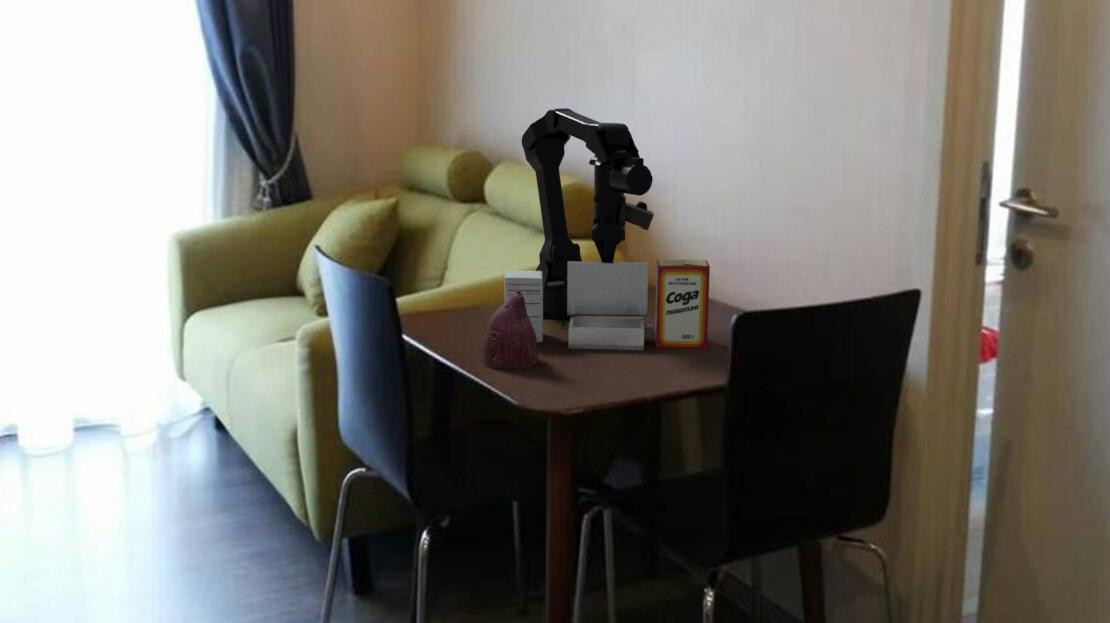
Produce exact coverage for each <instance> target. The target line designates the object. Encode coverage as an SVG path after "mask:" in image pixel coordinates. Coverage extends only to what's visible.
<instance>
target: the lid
mask: <svg viewBox="0 0 1110 623" xmlns="http://www.w3.org/2000/svg"><path fill="white" fill-rule="evenodd" d="M648 293H649V262H638V261H637V262H635V261H634V262H633V261H632V262H629V261H628V262H627V261H625V262H624V261H623V262H622V261H617V262H616V261H613V262H602V261H582V262H573V261H568V272H567V315H571V316H587V317H643V318H645V317H648V299H649V298H648V296H649V294H648Z"/></svg>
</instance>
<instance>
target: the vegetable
mask: <svg viewBox="0 0 1110 623" xmlns="http://www.w3.org/2000/svg"><path fill="white" fill-rule="evenodd" d="M538 348H539V347H538V342H537V339H536V334H535V331H534V328H533V326H532V324H531V321H530V319H529V317H528V314H527V311H526V306H525V299H524V296H523V295H522V293H521V291H520V290H518V291H517V292H516V293H514V294H513V295H512V296H511V297H510V298H509V299H508V300H507V301H506V302H505V301H504V303H503V304H502V305H501V306H499V307H498V309H497V310H496V311H494V313H493V315H492V316H491V319H490V321H489V322H488V325H487V330H486V332H485V335H484V338H483V346H482V359H481V362H482V363H483V365H484V366H486V367H488V368H492V369H496V368H497V369H498V368H499V369H500V370H503V369H505V370H509V369H525V367H527V368H530V367H533V366H534V365H536V364H538V362H539V349H538Z"/></svg>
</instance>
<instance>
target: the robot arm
mask: <svg viewBox="0 0 1110 623" xmlns="http://www.w3.org/2000/svg"><path fill="white" fill-rule="evenodd" d="M571 137H573V138H575V139H578V140H580V141H582V142H584V143H585V148H586V149H588V150H589V152H591V153H592V154H594V156H593V157H592V158H590V160H589V161H588V164H589V165H590V166H594V172H593V173H594V182H593V183H594V185H593V186H594V187H593V188H594V189H593V204H594V205H593V213H594V214H593V226H592V228H591V241H594V245H595V248H596V250H597V253H598V255H599V258H600V260H601V261H600V262H614V260H615V255H616V254H615V253H616V249H617V247H618V245H619V244H620V243H621V242H624V241H626V223H630V224H632V225H635V226H637V227H640V228H641V229H642V230H645V231H649V229H650V227H651V224H652V221H653V219H654V217H655V216H654V215H655V214H654V212H653V211H651V210H649V209H648V204H647V202H644V201H641V200H640V201H639V202H637V203H635V205H634V204H633V203H628V202H627V201H626V200H627V197H626V195H625V194H627V195H632V196H633V195H634V196H644V195H645V194H646V193H648V192H649V191H650V189H651V188H652V185H653V178H654V177H653V175H652V172H651V170H650V168H649V167H647V165H645V163H644V162H645V159H644V158H643V157H640V153H639V152H640V151H639V149H638V148H637V146H636V144H635V140H634V138H633V136H632V133H631V132H630V130H629V127H628V126H627V125H626V124H625V123H622V122H621V123H618V122H600V121H598V120H595V119H592V118H590V117H588V116H586V115H583V114H580V113H578V112H576V111H574V110H572V109H570V108H568V107H567V108H563V107H562V108H551V109H548V110H547V111H546V112H545V114H544V116H542V117H541V118H538V119H537V120H536V121H534V122H532V123H531V124H530V125H529V126H528V127H527V129H526V130H525V132H524V133H523V134H522V136H521V146H522V148H523V153H524V157H525V160H526V162H527V163H528V164H529V165H530V167H531V168H532V170H534V172H535V177H536V186H537V193H538V199H539V207H540V214H541V221H542V227H543V234H544V242H543V244H542V247H541V250H540V251H539V256H538V258H539V259H538V260H539V264H538V266H537V267H536V269H535V270H534V271H542V279H543V319H571V316H572V315H567V272H568V261H573V262H583V260H582V256H581V255H582V254H581V247H580V244H579V243H576V242H575V243H574V242H573V240H572V239H571V238H570V236H569V231H568V224H567V217H566V216H567V215H566V209H565V203H564V194H563V186H562V180H561V174H560V166H561V164H562V161H563V159H564V157H565V152H566V151H565V146H566V145H567V143H568V142H569V141H570V139H571Z"/></svg>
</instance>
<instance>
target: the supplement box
mask: <svg viewBox="0 0 1110 623" xmlns="http://www.w3.org/2000/svg"><path fill="white" fill-rule="evenodd" d="M503 280H504V282H503V283H504V285H503V286H504V288H503V289H504V303H505V302H506V301H507V300H508V299H509V298H510V297H511V296H512V295H513V294H514V293H516V292H517V291H518V290H520V291H521V293H522V295H523V296H524V299H525V306H526V311H527V314H528V317H529V319H530V321H531V324H532V326H533V328H534V331H535V334H536V339H537V343H543V341H544V318H543V279H542V271H535V270H506V271H505V272H504V279H503Z"/></svg>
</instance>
